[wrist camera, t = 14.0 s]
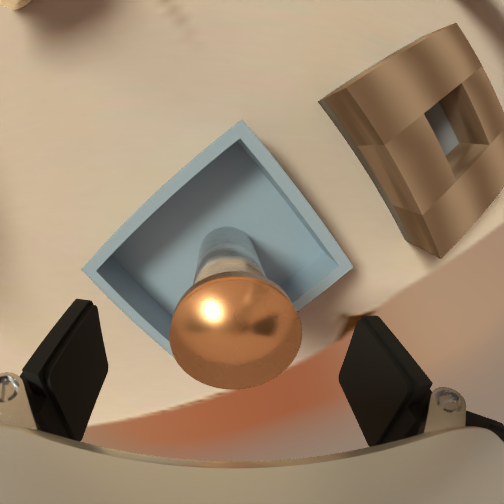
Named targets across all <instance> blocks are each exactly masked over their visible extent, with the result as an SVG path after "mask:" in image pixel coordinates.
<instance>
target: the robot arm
mask: <svg viewBox="0 0 504 504" xmlns="http://www.w3.org/2000/svg"><path fill="white" fill-rule="evenodd" d="M22 371H23V372H22V374H21V375H20V377H19V376H18V375H16V374H14V373H8V372H6V373H1V374H0V504H504V425H503V424H502V423H500V422H497V421H495V420H492V419H489V418H486V417H483V416H480V415H477V414H474V413H472V412H469V411H466V403H465V400H464V398H463V397H462V396H461V395H460V394H459V393H458V392H457V391H455V390H453V389H451V388H447V387H439V388H437V389H435V390H434V391H433V392H432V391H431V390H430V387H431V386H432V382H431V381H430V379H429V378H428V377H427V375H426V374H425V373H424V372H423V370H422V369H421V368H420V366H419V365H418V364H417V363H416V361H415V360H414V359H413V358H412V356H411V355H410V354H409V353H408V351H407V350H406V349H405V348H404V347H403V345H402V344H401V343H400V342H399V340H398V339H397V338H396V337H395V335H394V334H393V333H392V332H391V331H390V329H389V328H388V327H387V326H386V325H385V323H384V322H383V321H382V320H381V319H380V318H379V317H378V316H363V317H362V318H361V320H358V321H357V323H356V326H355V330H354V333H353V336H352V339H351V342H350V345H349V348H348V351H347V353H346V356H345V359H344V362H343V365H342V367H341V370H340V373H339V382H340V385H341V387H342V389H343V391H344V393H345V395H346V398H347V399H348V402H349V404H350V406H351V408H352V411H353V413H354V415H355V417H356V419H357V421H358V424H359V426H360V428H361V430H362V432H363V435H364V437H365V439H366V441H367V443H368V445H369V446H370V447H368V448H363V449H358V450H353V451H348V452H342V453H336V454H330V455H323V456H316V457H307V458H297V459H286V460H271V461H244V462H233V461H201V460H186V459H174V458H165V457H157V456H149V455H143V454H136V453H131V452H125V451H120V450H115V449H110V448H105V447H100V446H96V445H92V444H87V443H83V442H79V441H81V440H82V438H83V435H84V432H85V430H86V427H87V424H88V421H89V418H90V416H91V413H92V410H93V408H94V405H95V403H96V400H97V397H98V395H99V392H100V390H101V387H102V385H103V382H104V380H105V378H106V375H107V372H108V361H107V357H106V352H105V347H104V342H103V337H102V332H101V326H100V320H99V314H98V309H97V306H96V305H93V303H92V301H90V300H82V299H76V300H75V301H74V302H73V303H72V305H71V306H70V307H69V308H68V309H67V311H66V312H65V313H64V314H63V316H62V317H61V318H60V319H59V321H58V322H57V323H56V324H55V326H54V327H53V328H52V330H51V331H50V332H49V334H48V335H47V336H46V337H45V339H44V340H43V341H42V343H41V344H40V345H39V347H38V348H37V350H36V351H35V352H34V354H33V355H32V356H31V358H30V359H29V361H28V362H27V364H26V365H25V366H24V368H23V369H22Z"/></svg>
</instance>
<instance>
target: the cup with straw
mask: <svg viewBox="0 0 504 504" xmlns="http://www.w3.org/2000/svg"><path fill="white" fill-rule="evenodd" d="M30 1H31V0H0V6H3V7H10V8H11V9H12V10H17V9H20V8H22V7H24V6H25V5H27V4H28V3H29V2H30Z"/></svg>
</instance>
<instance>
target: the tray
mask: <svg viewBox="0 0 504 504" xmlns="http://www.w3.org/2000/svg"><path fill="white" fill-rule="evenodd" d="M220 227H234V228H237V229H240V230H241V231H243V232H244V233H246V234H247V235H248V237H249V238H250V239H251V241H252V243H253V246H254V248H255V251H256V253H257V256H258V258H259V261H260V263H261V266H262V268H263V271H264V273H265V276H266V278H267V279H269V280H271V281H273V282H274V283H276V284H277V285H278V286H280V287H281V288H282V289H283V290H284V291H285V293H286V294H287V295H288V297H289V298H290V300H291V302H292V304H293V306H294V308H295V310H296V312H298V311H299V310H300V309H302V308H303V307H304V306H306V305H307V304H308V303H309V302H311V301H312V300H313V299H315V298H316V297H317V296H318V295H320V294H321V293H322V292H324V291H325V290H326V289H327V288H329V287H330V286H331V285H332V284H333V283H335V282H336V281H337V280H338V279H340V278H341V277H342V276H343V275H345V274H346V273H347V272H348V271H349V270H351V269H352V268H353V265H352V264H351V262H350V261H349V259H348V258H347V256H346V255H345V254H344V252H343V251H342V249H341V248H340V246H339V245H338V243H337V242H336V240H335V239H334V238H333V236H332V235H331V233H330V232H329V230H328V229H327V228H326V226H325V225H324V223H323V222H322V221H321V219H320V218H319V217H318V215H317V214H316V212H315V211H314V210H313V208H312V207H311V206H310V204H309V203H308V202H307V200H306V199H305V197H304V196H303V195H302V193H301V192H300V191H299V189H298V188H297V187H296V186H295V184H294V183H293V182H292V180H291V179H290V178H289V176H288V175H287V174H286V173H285V171H284V170H283V169H282V167H281V166H280V165H279V164H278V162H277V161H276V160H275V159H274V157H273V156H272V155H271V154H270V152H269V151H268V150H267V149H266V147H265V146H264V145H263V144H262V142H261V141H260V140H259V139H258V138H257V136H256V135H255V134H254V133H253V132H252V130H251V129H250V128H249V127H248V126H247V124H246V123H245V122H244V121H243V120H241V121H239V122H238V123H237V124H236V125H234V126H233V127H232V128H230V129H229V130H228V131H227V132H225V133H224V134H223V135H222V136H220V137H219V138H218V139H217V140H215V141H214V142H213V143H212V144H210V145H209V146H208V147H207V148H206V149H204V150H203V151H202V152H201V153H200V154H198V155H197V156H196V157H195V158H194V159H193V160H191V161H190V162H189V163H188V164H187V165H186V166H184V167H183V168H182V169H181V170H180V171H179V172H178V173H177V174H175V175H174V176H173V177H172V178H171V179H170V180H169V181H168V182H167V183H165V184H164V185H163V186H162V187H161V188H160V189H159V190H158V191H157V192H156V193H155V194H154V195H153V196H152V197H150V198H149V199H148V200H147V201H146V202H145V203H144V204H143V205H142V206H141V207H140V208H139V209H138V210H137V211H136V212H135V213H134V214H133V215H132V216H131V217H130V218H129V219H128V220H127V221H126V222H125V223H124V224H123V225H122V226H121V227H120V228H119V229H118V230H117V231H116V232H115V233H114V234H113V235H112V236H111V238H110V239H109V240H108V241H107V242H106V243H105V244H104V245H103V246H102V247H101V248H100V249H99V250H98V252H97V253H96V254H95V255H94V256H93V257H92V258H91V259H90V260H89V262H88V263H87V264H86V265H85V266H84V267H83V268H82V270H83V272H84V273H85V274H86V275H87V276H88V277H89V278H90V279H91V280H92V281H93V282H94V283H95V284H96V285H97V286H98V287H99V289H100V290H101V291H102V292H103V293H104V294H105V295H106V296H107V297H108V298H109V299H110V300H111V301H112V302H113V303H114V304H115V305H116V306H117V307H118V308H119V309H121V310H122V311H123V312H124V313H125V314H126V315H127V316H128V317H129V318H130V319H131V320H132V321H133V322H134V323H135V324H136V325H138V326H139V327H140V328H141V329H142V330H143V331H144V332H145V333H146V334H147V335H149V336H150V337H151V338H152V339H153V340H154V341H155V342H157V343H158V344H159V345H160V346H161V347H162V348H164V349H165V350H166V351H167V352H168V353H169V354H171V355H172V356H173V357H174V355H173V353H172V350H171V347H170V340H169V335H170V327H171V323H172V319H173V315H174V311H175V308H176V306H177V304H178V302H179V300H180V298H181V297H182V296H183V295H184V293H185V292H186V291H187V290H188V289H189V288H190V287H191V286H193V282H194V277H195V271H196V266H197V260H198V255H199V249H200V245H201V243H202V241H203V239H204V238H205V236H206V235H207V234H208V233H210V232H211V231H213V230H214V229H217V228H220Z"/></svg>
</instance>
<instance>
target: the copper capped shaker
mask: <svg viewBox="0 0 504 504" xmlns="http://www.w3.org/2000/svg"><path fill="white" fill-rule="evenodd" d="M301 339H302V327H301V322H300V319H299V316H298V314H297V312H296V310H295V308H294V306H293V304H292V302H291V300H290V298H289V297H288V295H287V294H286V293H285V291H284V290H283V289H282V288H281V287H280V286H278V285H277V284H276V283H274V282H273V281H271V280H269V279H267V278H266V276H265V273H264V271H263V268H262V266H261V263H260V261H259V258H258V256H257V253H256V251H255V248H254V246H253V243H252V241H251V239H250V238H249V237H248V235H247V234H246V233H244V232H243V231H241V230H240V229H237V228H234V227H220V228H217V229H214V230H213V231H211V232H210V233H208V234H207V235H206V236H205V238H204V239H203V241H202V243H201V245H200V249H199V255H198V260H197V266H196V271H195V277H194V282H193V286H191V287H190V288H189V289H188V290H187V291H186V292H185V293H184V295H183V296H182V297H181V298H180V300H179V302H178V304H177V306H176V308H175V311H174V315H173V319H172V323H171V327H170V335H169V340H170V347H171V350H172V353H173V355H174V358H175V359H176V361H177V363H178V364H179V365H180V367H181V368H182V369H183V370H184V371H185V372H186V373H187V374H189V375H190V376H191V377H193V378H194V379H196V380H198V381H200V382H201V383H204V384H206V385H209V386H212V387H216V388H222V389H245V388H251V387H255V386H258V385H261V384H263V383H266V382H268V381H270V380H272V379H274V378H275V377H277V376H278V375H279V374H281V373H282V372H283V371H284V370H285V369H286V368H287V367H288V366H289V365H290V364H291V363H292V361H293V360H294V358H295V357H296V355H297V353H298V351H299V348H300V345H301Z"/></svg>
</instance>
